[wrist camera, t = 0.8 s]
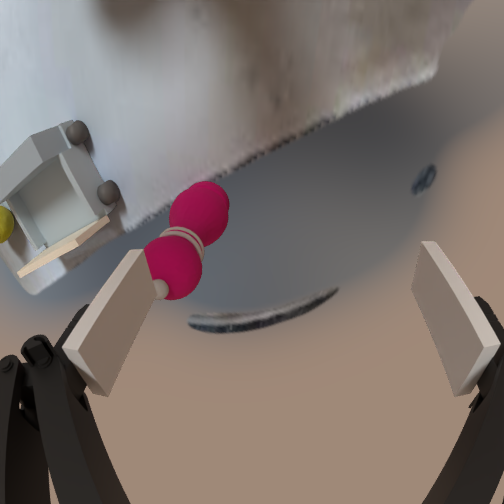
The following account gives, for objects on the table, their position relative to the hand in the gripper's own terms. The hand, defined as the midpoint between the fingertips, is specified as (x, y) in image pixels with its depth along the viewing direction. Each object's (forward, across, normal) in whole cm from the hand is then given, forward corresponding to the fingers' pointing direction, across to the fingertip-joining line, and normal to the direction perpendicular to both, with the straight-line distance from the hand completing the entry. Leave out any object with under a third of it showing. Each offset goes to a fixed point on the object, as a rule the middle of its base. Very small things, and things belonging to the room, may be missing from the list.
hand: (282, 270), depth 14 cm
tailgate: (+24, -32, -9) cm, 41 cm away
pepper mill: (+27, -11, -7) cm, 30 cm away
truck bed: (+27, -34, -2) cm, 44 cm away
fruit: (+27, -51, -6) cm, 58 cm away
